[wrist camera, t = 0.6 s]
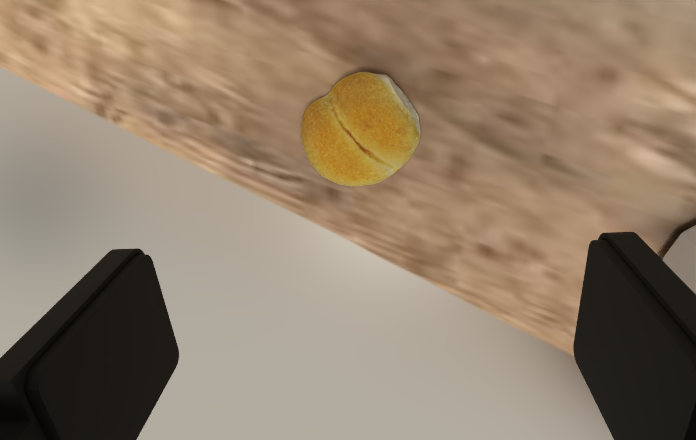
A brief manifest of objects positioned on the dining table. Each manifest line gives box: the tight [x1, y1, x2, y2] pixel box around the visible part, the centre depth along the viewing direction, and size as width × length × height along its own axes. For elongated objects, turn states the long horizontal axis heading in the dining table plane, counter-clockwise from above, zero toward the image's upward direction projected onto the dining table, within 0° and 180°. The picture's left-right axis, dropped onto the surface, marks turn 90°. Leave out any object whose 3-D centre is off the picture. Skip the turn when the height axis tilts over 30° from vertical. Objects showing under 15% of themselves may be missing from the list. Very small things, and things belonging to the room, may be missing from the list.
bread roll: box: [301, 72, 421, 187], centre depth 37 cm, size 8×9×4 cm
